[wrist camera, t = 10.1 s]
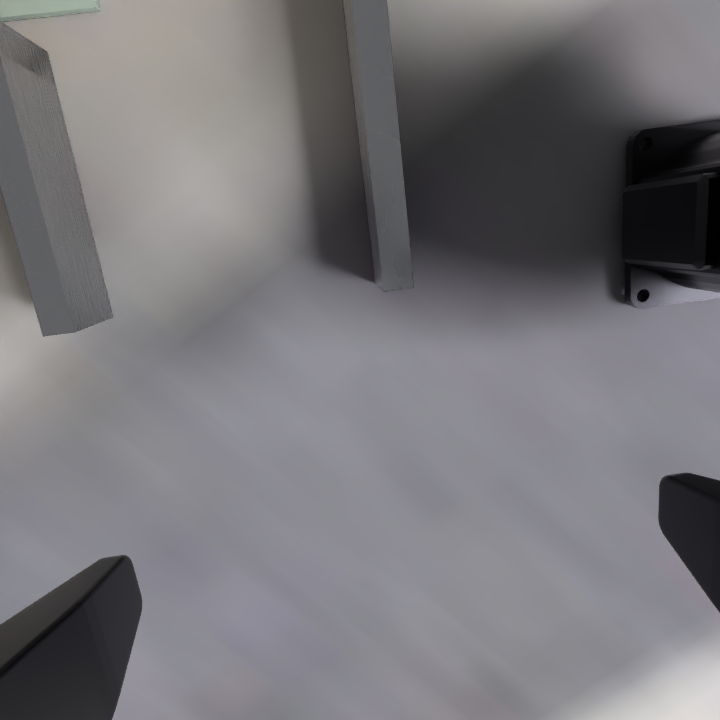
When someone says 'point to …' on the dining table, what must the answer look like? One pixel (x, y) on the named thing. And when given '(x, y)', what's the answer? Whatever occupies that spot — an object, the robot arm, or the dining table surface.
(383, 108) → the steel rail course
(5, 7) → the pad
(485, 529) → the dining table surface
